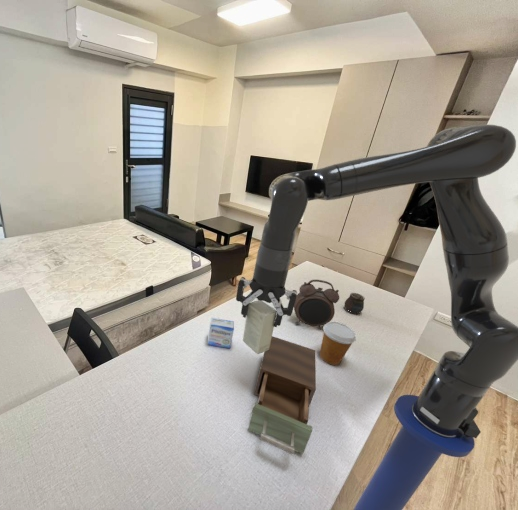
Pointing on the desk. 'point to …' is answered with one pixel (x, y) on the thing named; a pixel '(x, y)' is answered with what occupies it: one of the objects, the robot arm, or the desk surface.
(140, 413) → the desk surface
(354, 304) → the mate gourd
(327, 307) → the alarm clock
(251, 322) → the cosmetic box
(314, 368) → the cabinet
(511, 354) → the robot arm
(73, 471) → the desk surface
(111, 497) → the desk surface
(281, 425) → the drawer
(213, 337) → the medicine box
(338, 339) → the disposable coffee cup
